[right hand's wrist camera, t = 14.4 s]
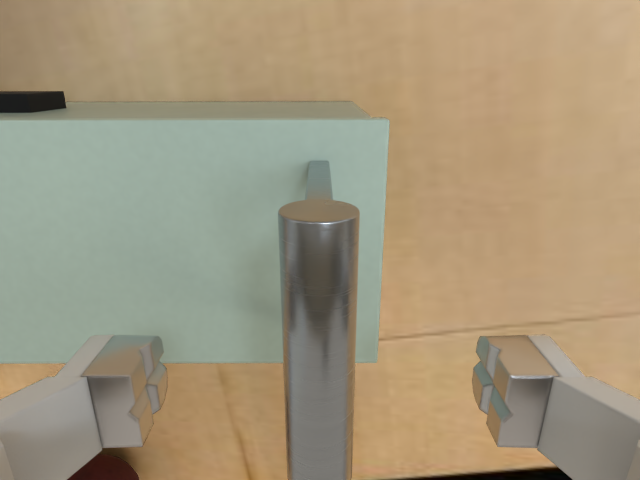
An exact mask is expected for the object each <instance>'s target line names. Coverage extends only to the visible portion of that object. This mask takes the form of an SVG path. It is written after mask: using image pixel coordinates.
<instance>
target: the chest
mask: <svg viewBox="0 0 640 480" xmlns="http://www.w3.org/2000/svg"><path fill="white" fill-rule="evenodd" d="M65 103H66V108H64V109H56V110H48V111H41V112H33V113H0V118H368V117H370V116H369V115H368V114H367V113H365V112H364V111H363V110H362V109H361V108H359V107H358V106H357V105H356V104H355V103H354V102H352V101H304V102H65Z"/></svg>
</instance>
